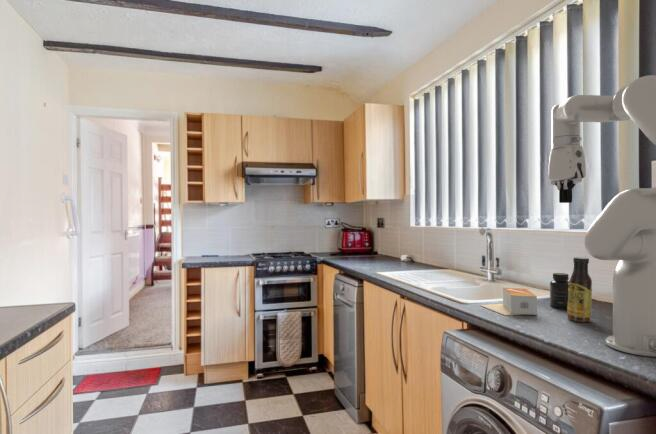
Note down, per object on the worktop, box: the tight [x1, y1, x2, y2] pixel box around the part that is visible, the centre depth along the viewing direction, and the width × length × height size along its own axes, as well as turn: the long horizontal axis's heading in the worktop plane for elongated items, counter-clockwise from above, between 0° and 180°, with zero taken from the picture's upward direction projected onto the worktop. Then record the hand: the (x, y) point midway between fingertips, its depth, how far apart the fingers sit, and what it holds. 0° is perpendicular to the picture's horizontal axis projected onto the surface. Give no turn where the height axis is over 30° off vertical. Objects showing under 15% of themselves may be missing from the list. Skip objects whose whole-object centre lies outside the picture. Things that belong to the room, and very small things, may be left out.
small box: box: [502, 287, 538, 316], centre depth 133 cm, size 8×6×13 cm
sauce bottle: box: [566, 256, 593, 323], centre depth 121 cm, size 7×6×20 cm
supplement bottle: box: [549, 272, 570, 310], centre depth 138 cm, size 7×7×12 cm
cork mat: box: [479, 303, 526, 317], centre depth 135 cm, size 14×12×1 cm
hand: (565, 202), depth 120 cm, fingers closed
